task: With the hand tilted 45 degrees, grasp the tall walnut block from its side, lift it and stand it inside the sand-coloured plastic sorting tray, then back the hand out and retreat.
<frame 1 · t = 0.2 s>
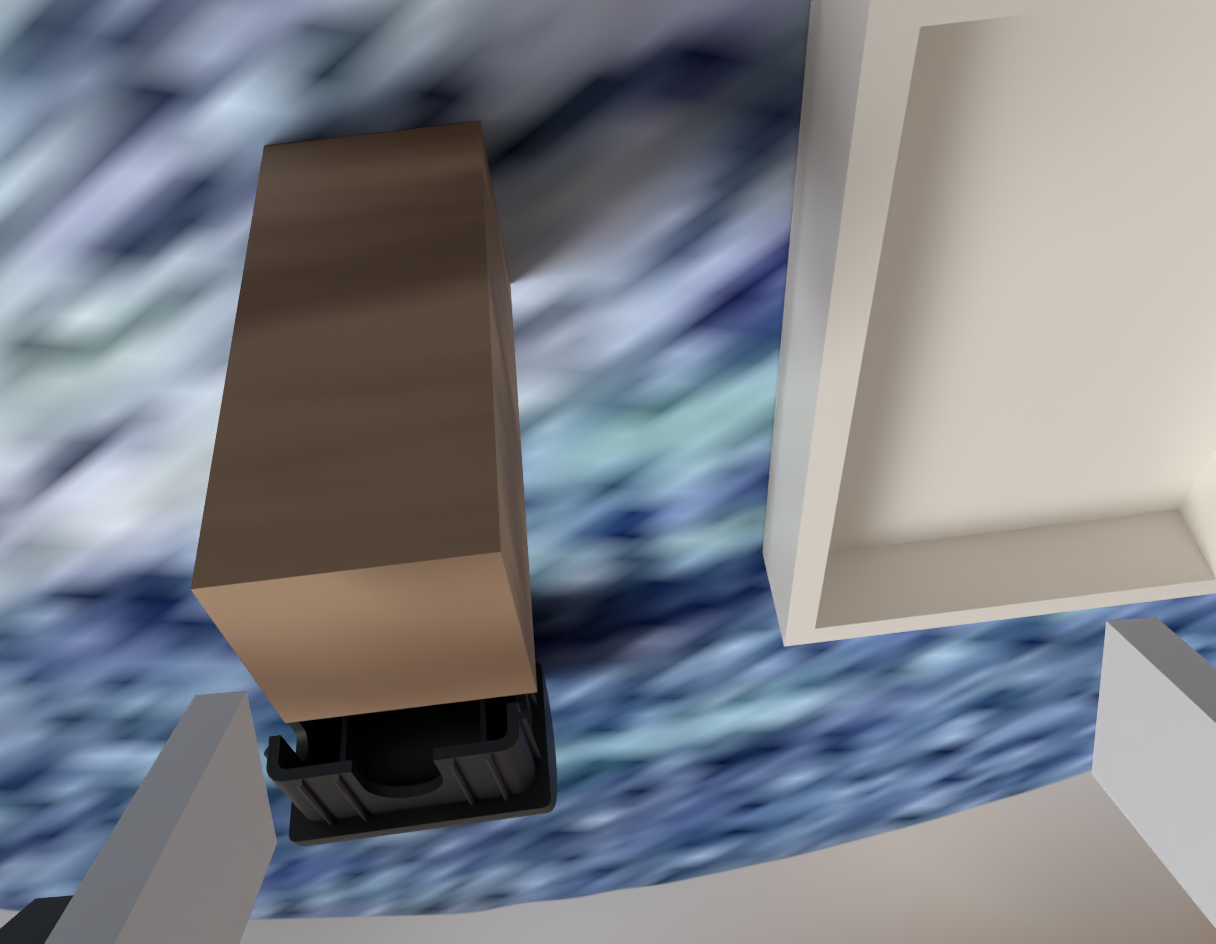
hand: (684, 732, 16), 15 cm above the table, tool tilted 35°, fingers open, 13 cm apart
sorting tray: (1059, 286, 31), on the table
walnut block: (396, 220, 27), on the table
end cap: (418, 654, 44), on the table
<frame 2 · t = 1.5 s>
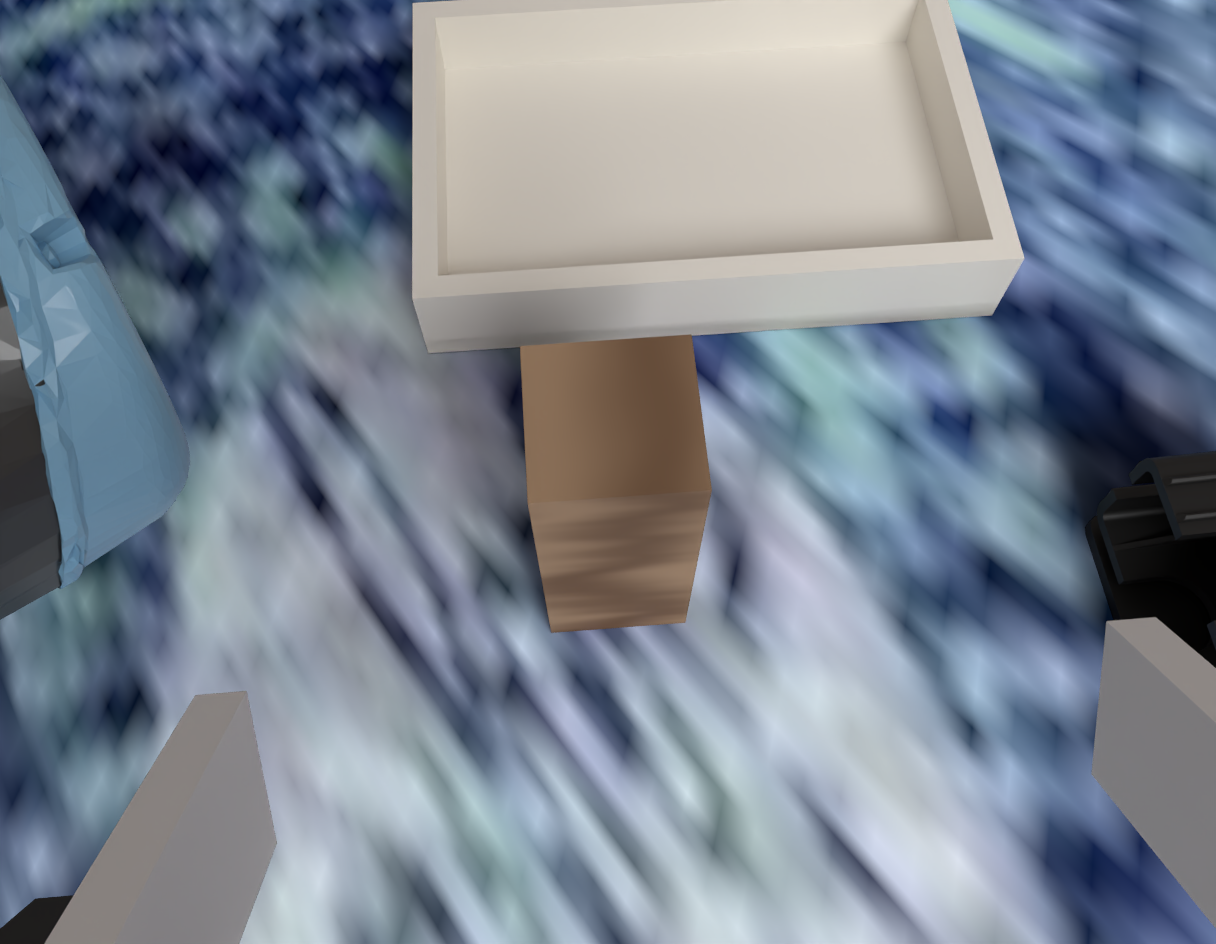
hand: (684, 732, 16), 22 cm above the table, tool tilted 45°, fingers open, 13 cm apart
sorting tray: (691, 185, 49), on the table
walnut block: (613, 564, 41), on the table
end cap: (1206, 624, 40), on the table
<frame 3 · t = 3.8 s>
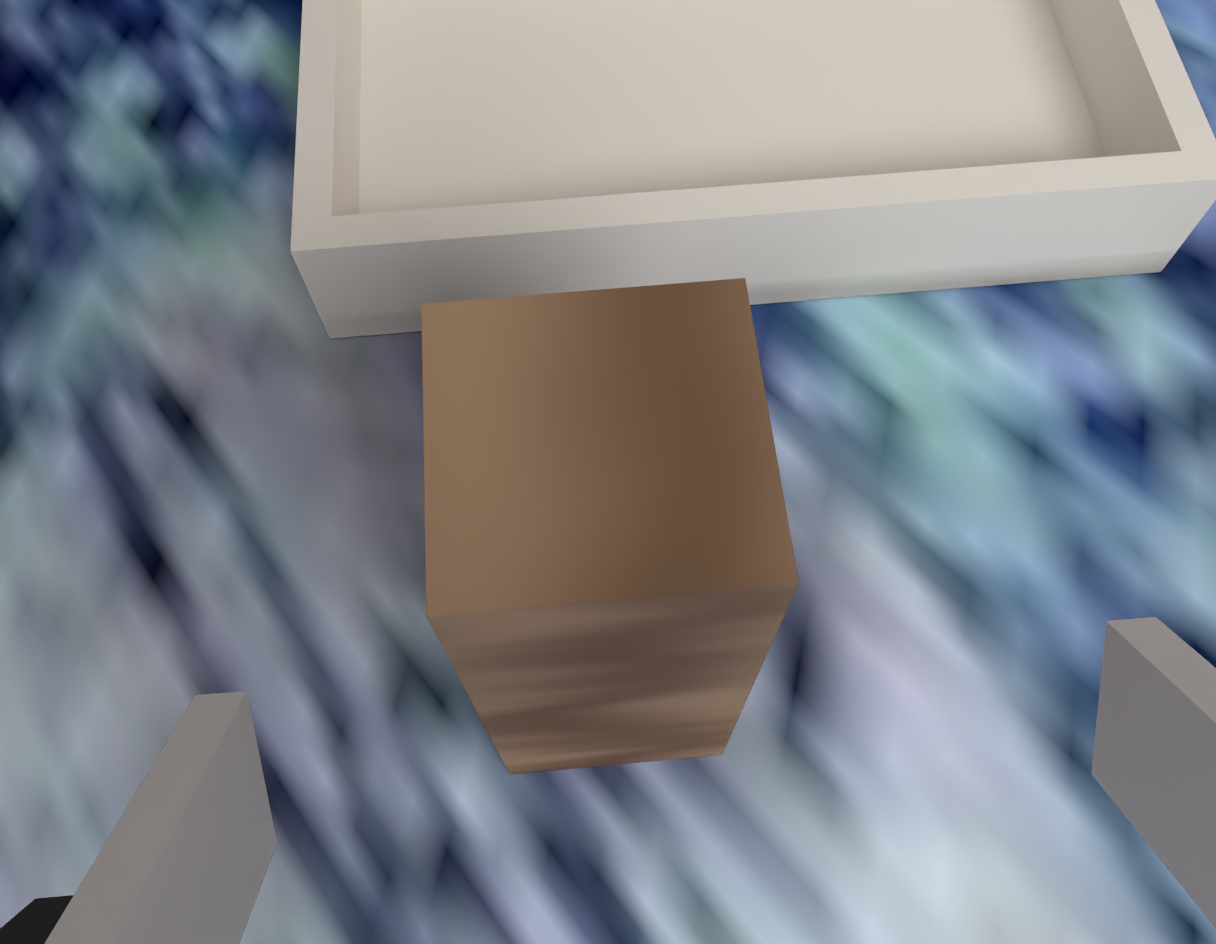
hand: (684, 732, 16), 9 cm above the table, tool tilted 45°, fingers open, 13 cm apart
sorting tray: (713, 96, 34), on the table
walnut block: (606, 660, 26), on the table
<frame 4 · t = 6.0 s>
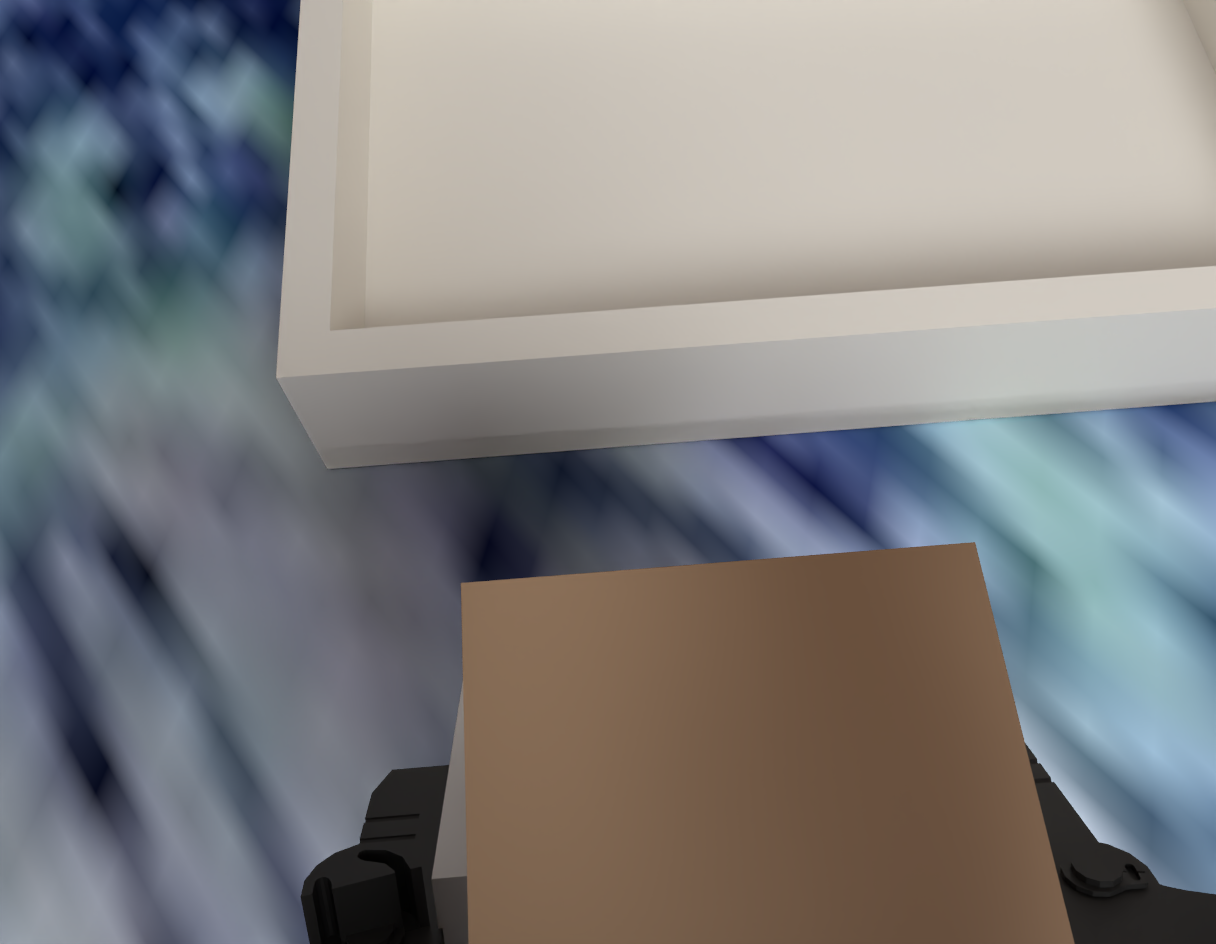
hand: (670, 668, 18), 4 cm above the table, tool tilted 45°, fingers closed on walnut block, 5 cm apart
sorting tray: (797, 161, 28), on the table
walnut block: (683, 917, 20), on the table, touching gripper
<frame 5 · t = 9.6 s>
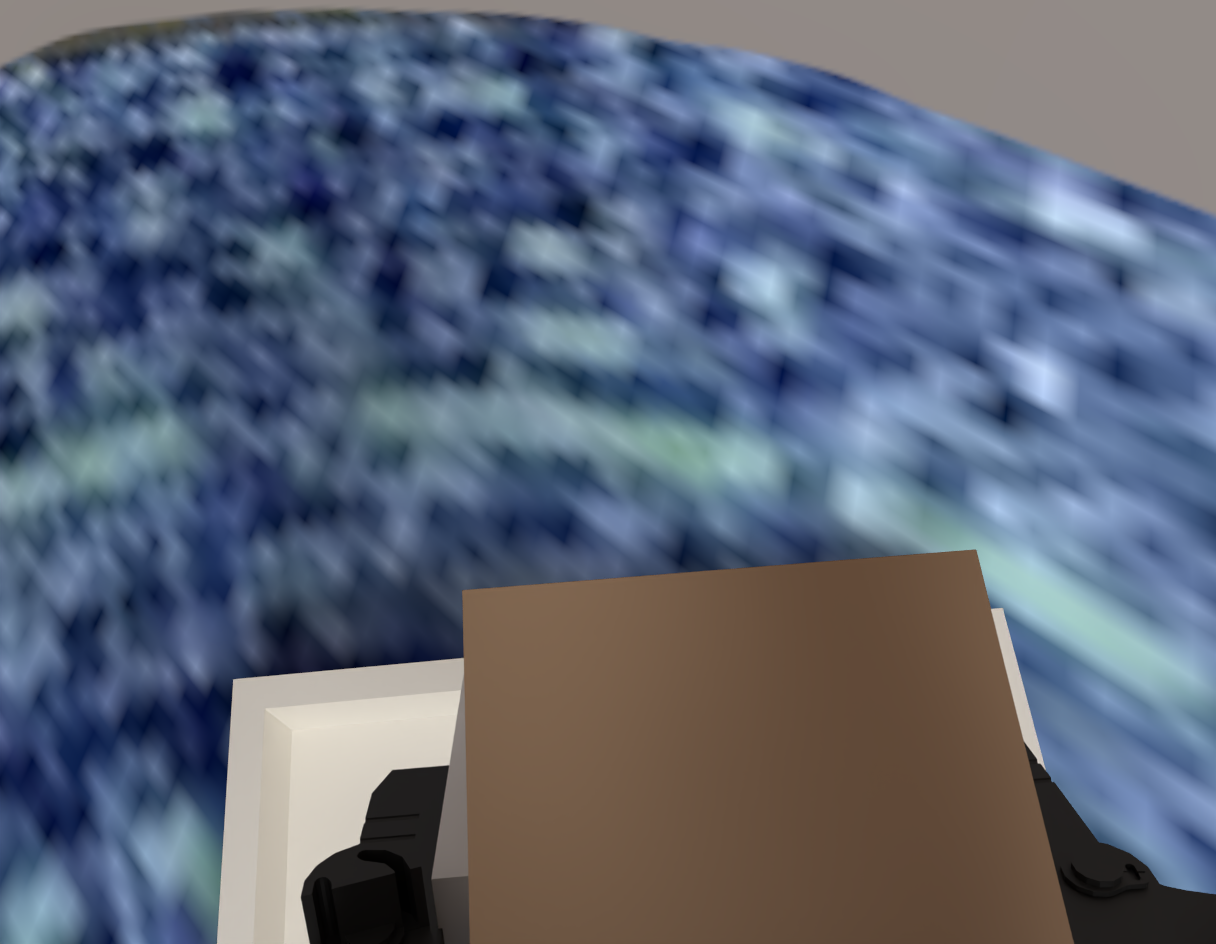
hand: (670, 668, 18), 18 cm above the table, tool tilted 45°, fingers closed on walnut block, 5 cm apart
sorting tray: (647, 928, 33), on the table
walnut block: (684, 922, 20), point 14 cm above the table, touching gripper
when the fingers open (6 cm above the table, at t = 13.2 s): walnut block drops 1 cm, resting on sorting tray.
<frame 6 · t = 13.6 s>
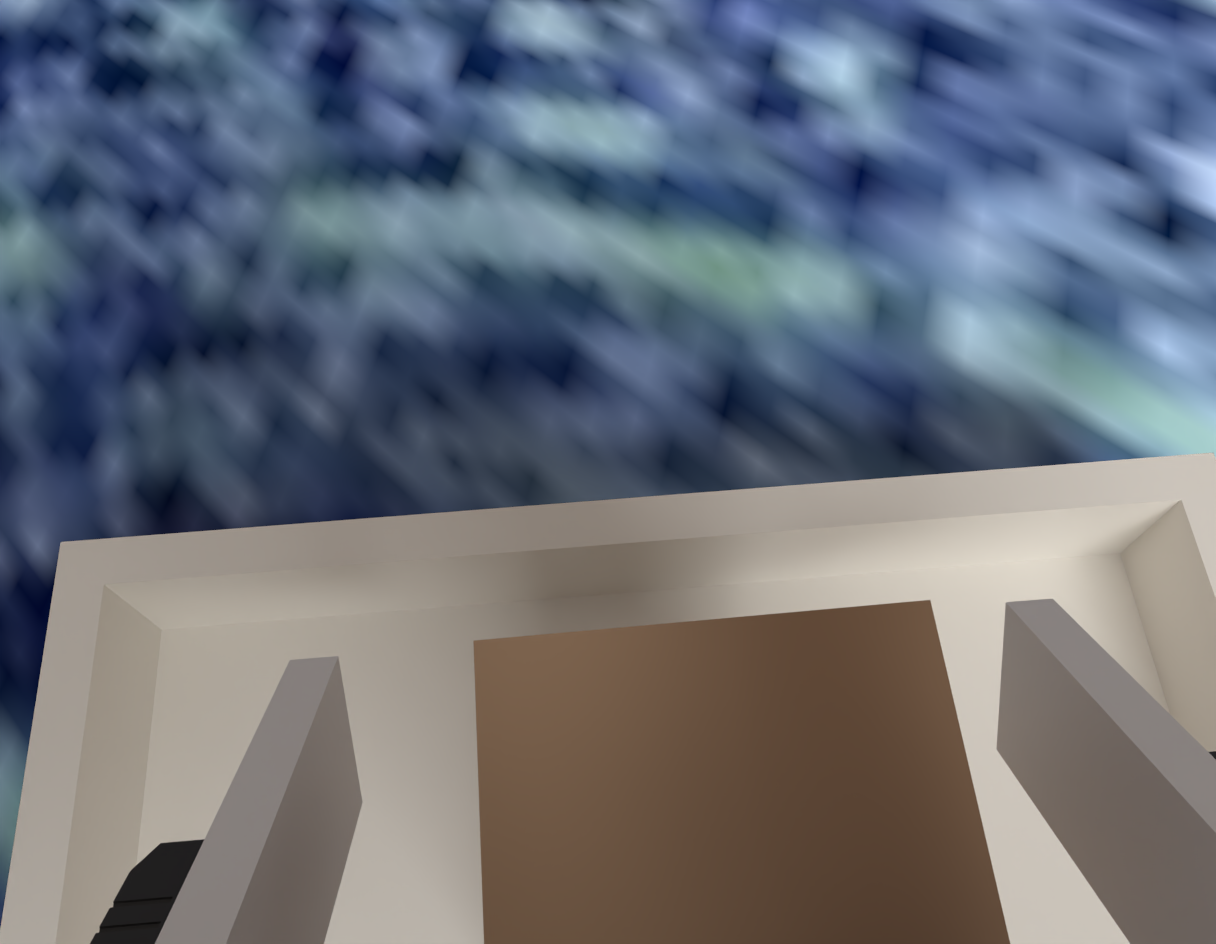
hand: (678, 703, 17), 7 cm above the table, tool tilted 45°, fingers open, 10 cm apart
sorting tray: (677, 924, 22), on the table
walnut block: (677, 928, 21), point 1 cm above the table, touching sorting tray
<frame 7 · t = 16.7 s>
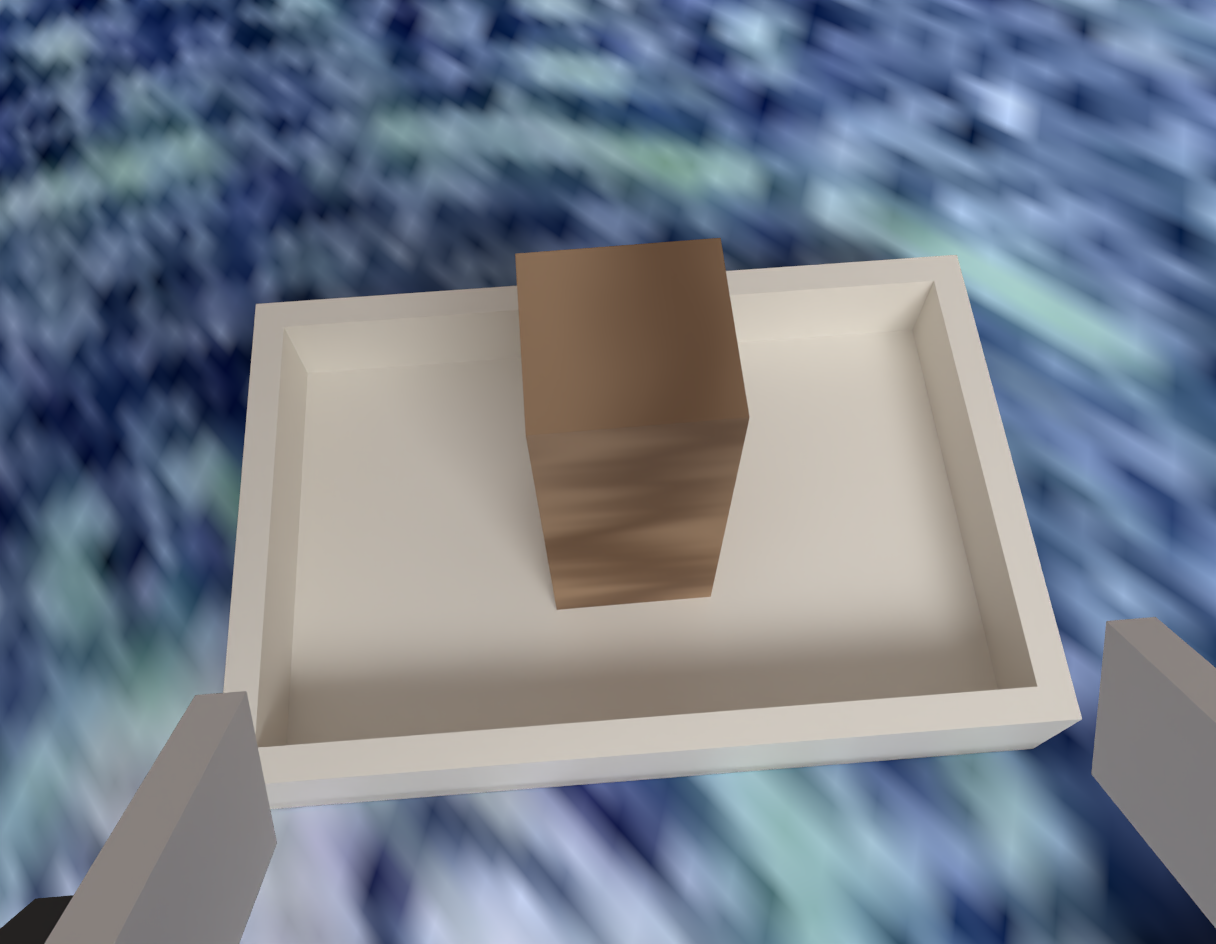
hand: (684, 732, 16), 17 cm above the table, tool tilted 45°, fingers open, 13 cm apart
sorting tray: (627, 540, 37), on the table
walnut block: (626, 532, 36), point 1 cm above the table, touching sorting tray
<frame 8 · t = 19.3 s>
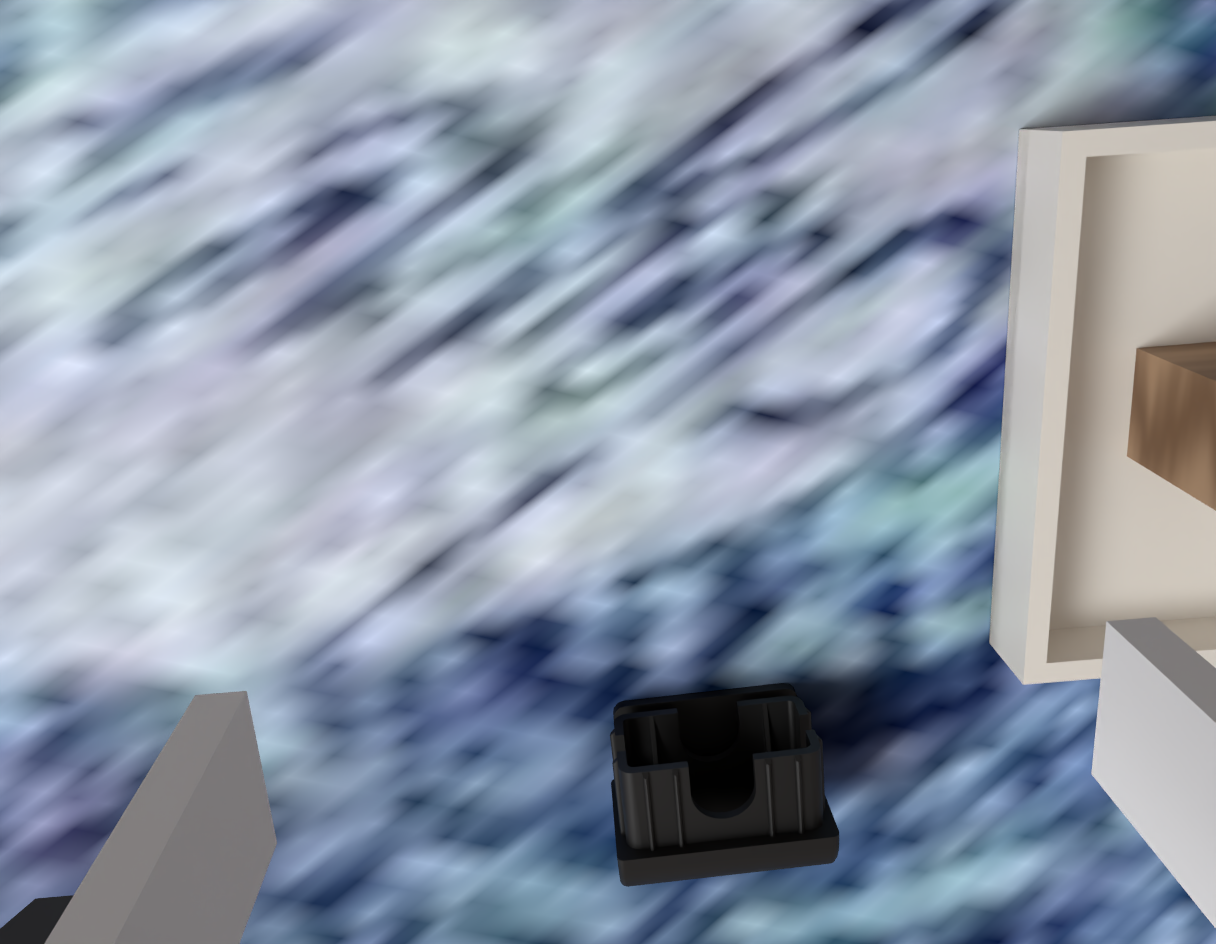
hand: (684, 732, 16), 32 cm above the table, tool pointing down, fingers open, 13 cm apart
sorting tray: (1176, 393, 49), on the table
walnut block: (1186, 398, 48), point 1 cm above the table, touching sorting tray
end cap: (707, 750, 54), on the table
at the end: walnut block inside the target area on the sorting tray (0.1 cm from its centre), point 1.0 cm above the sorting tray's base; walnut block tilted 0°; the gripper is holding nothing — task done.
